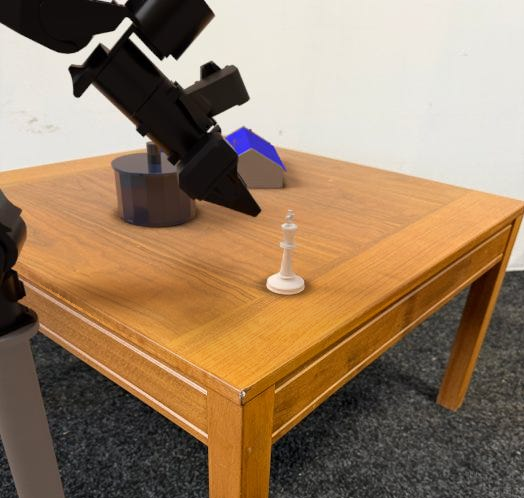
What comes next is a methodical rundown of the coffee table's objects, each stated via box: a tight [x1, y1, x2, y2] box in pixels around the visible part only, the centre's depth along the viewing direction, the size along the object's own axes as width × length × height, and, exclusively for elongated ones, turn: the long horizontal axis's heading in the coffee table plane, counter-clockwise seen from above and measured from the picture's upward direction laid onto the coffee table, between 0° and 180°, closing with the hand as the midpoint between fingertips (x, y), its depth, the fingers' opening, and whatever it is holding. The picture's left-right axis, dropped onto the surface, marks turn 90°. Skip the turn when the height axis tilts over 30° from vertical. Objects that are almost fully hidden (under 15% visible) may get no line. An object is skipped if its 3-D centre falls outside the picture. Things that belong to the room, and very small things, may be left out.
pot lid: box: [110, 140, 180, 177], centre depth 87 cm, size 14×14×4 cm
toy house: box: [223, 125, 288, 189], centre depth 114 cm, size 22×14×7 cm, turn 6°
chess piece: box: [266, 209, 306, 296], centre depth 68 cm, size 5×5×10 cm
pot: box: [113, 170, 197, 228], centre depth 90 cm, size 13×13×8 cm
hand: (251, 200), depth 64 cm, fingers open, 9 cm apart
